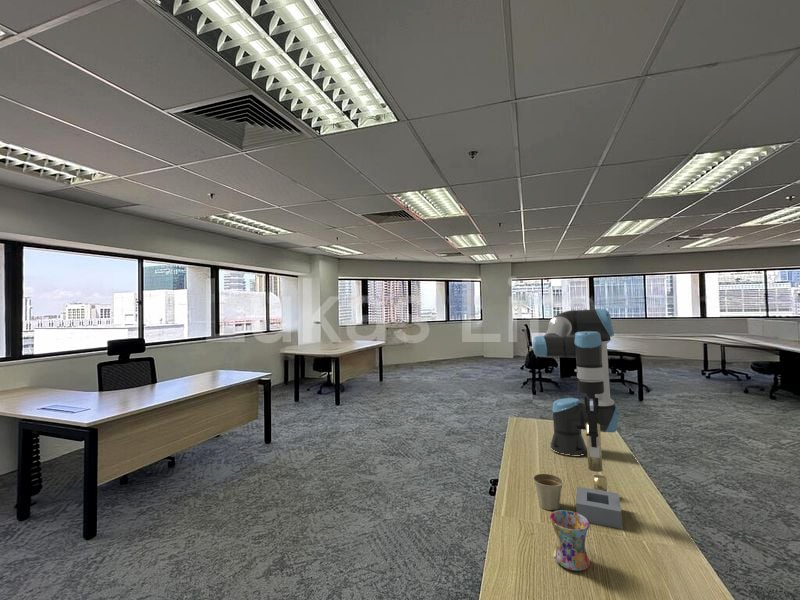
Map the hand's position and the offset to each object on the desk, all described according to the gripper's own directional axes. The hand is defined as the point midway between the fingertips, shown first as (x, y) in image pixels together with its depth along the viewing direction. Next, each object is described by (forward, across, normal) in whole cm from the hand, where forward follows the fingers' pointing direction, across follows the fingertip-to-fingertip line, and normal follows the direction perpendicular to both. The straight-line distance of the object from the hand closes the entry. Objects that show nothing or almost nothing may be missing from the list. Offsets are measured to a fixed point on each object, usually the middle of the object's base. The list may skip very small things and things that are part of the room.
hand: (594, 454), depth 115 cm
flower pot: (+19, +1, -14) cm, 24 cm away
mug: (+19, +26, -7) cm, 33 cm away
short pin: (+19, -14, +1) cm, 23 cm away
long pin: (+5, 0, 0) cm, 5 cm away
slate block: (+19, 0, 0) cm, 19 cm away
